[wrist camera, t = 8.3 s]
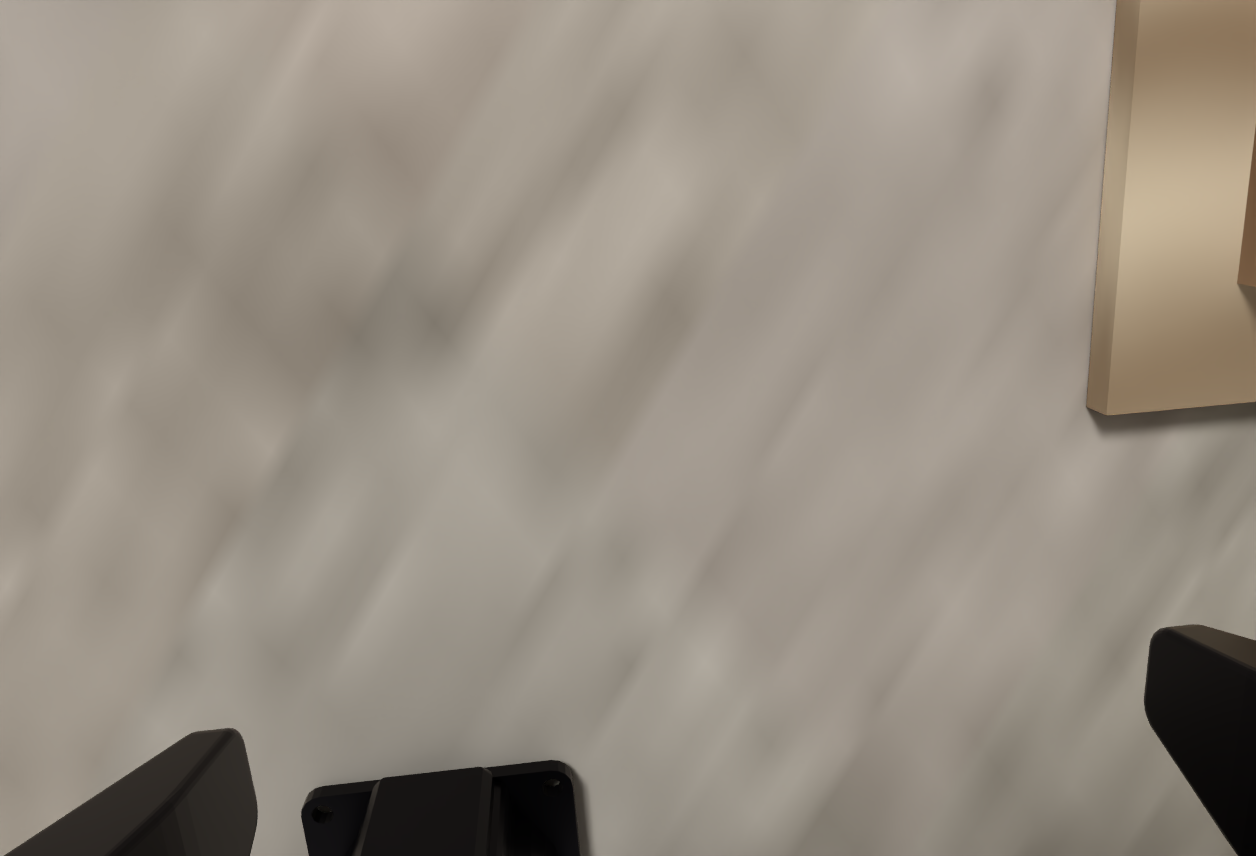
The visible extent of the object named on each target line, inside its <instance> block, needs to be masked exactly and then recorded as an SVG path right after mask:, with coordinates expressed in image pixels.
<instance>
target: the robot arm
mask: <svg viewBox="0 0 1256 856" xmlns="http://www.w3.org/2000/svg"><path fill="white" fill-rule="evenodd" d="M1144 706H1145V712H1146V715H1147V718H1148V721H1149V723H1150V725H1151V727H1152V729H1153V730H1154V732H1155V733H1156V735H1157V736H1158V738H1159V739H1160V741H1161V742H1162V744H1163V745H1164V747H1165V748H1166V750H1167V751H1168V753H1169V754H1170V756H1171V757H1172V759H1173V760H1174V762H1175V763H1176V765H1177V766H1178V768H1179V769H1180V771H1181V772H1182V774H1183V775H1184V777H1185V778H1186V780H1187V781H1188V783H1189V784H1190V786H1191V787H1192V789H1193V790H1194V792H1195V793H1196V795H1197V796H1198V798H1199V799H1200V801H1201V802H1202V804H1203V805H1204V807H1205V808H1206V810H1207V811H1208V813H1209V814H1210V816H1211V817H1212V819H1213V820H1214V822H1215V823H1216V825H1217V826H1218V828H1219V829H1220V831H1221V832H1222V834H1223V835H1224V837H1225V838H1226V839H1227V841H1228V842H1229V844H1230V845H1231V847H1232V848H1233V849H1234V851H1235V852H1236V854H1237V855H1238V856H1256V641H1255V640H1252V639H1248V638H1245V637H1241V636H1238V635H1234V634H1231V633H1228V632H1224V631H1221V630H1217V629H1214V628H1210V627H1207V626H1203V625H1183V626H1174V627H1166V628H1161V629H1159V630H1158V631H1156V632H1155V633H1154V634H1153V636H1152V638H1151V641H1150V646H1149V656H1148V665H1147V675H1146V684H1145V694H1144ZM550 779H556V780H558V781H560V783H559V784H558V785H556V786H547V785H546V784H544V783H545V781H547V780H550ZM318 806H327V807H329V808H330V809H331V810H332V811H331V812H328V813H327V812H322V811H320V810H318V809H317V807H318ZM257 813H258V810H257V800H256V795H255V790H254V786H253V781H252V776H251V772H250V767H249V762H248V757H247V753H246V748H245V744H244V740H243V738H242V736H241V734H240V733H239V732H238V731H237V730H235V729H233V728H225V729H216V730H207V731H197V732H194V733H191V734H189V735H187V736H186V737H184V738H183V739H181V740H179V741H178V742H176V743H175V744H173V745H172V746H170V747H169V748H167V749H166V750H164V751H163V752H161V753H160V754H158V755H157V756H155V757H154V758H152V759H151V760H149V761H147V762H146V763H144V764H143V765H141V766H140V767H138V768H137V769H135V770H134V771H132V772H131V773H129V774H128V775H126V776H125V777H123V778H122V779H120V780H119V781H117V782H116V783H114V784H112V785H111V786H109V787H108V788H106V789H105V790H103V791H102V792H100V793H99V794H97V795H96V796H94V797H93V798H91V799H90V800H88V801H87V802H85V803H84V804H82V805H80V806H79V807H77V808H76V809H74V810H73V811H71V812H70V813H68V814H67V815H65V816H64V817H62V818H61V819H59V820H58V821H56V822H55V823H53V824H52V825H50V826H49V827H47V828H45V829H44V830H42V831H41V832H39V833H38V834H36V835H35V836H33V837H32V838H30V839H29V840H27V841H26V842H24V843H23V844H21V845H20V846H18V847H17V848H15V849H13V850H12V851H10V852H9V853H7V854H6V855H4V856H250V853H251V848H252V844H253V840H254V836H255V831H256V826H257ZM301 818H302V823H303V828H304V833H305V838H306V843H307V848H308V853H309V856H580V847H579V837H578V827H577V817H576V807H575V797H574V787H573V777H572V773H571V770H570V768H569V767H568V766H567V765H566V764H565V763H562V762H560V761H554V760H548V761H540V762H531V763H522V764H513V765H505V766H496V767H487V768H482V767H474V768H465V769H457V770H448V771H439V772H430V773H422V774H413V775H404V776H395V777H386V778H383V779H381V780H373V781H364V782H356V783H347V784H338V785H329V786H322V787H319V788H315V789H314V790H313V791H311V792H310V793H309V794H308V796H307V798H306V800H305V803H304V805H303V808H302V812H301Z"/></svg>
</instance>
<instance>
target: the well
mask: <svg viewBox="0 0 1256 856" xmlns="http://www.w3.org/2000/svg"><path fill="white" fill-rule="evenodd" d="M1247 402H1256V0H1117V6H1116V19H1115V33H1114V46H1113V59H1112V72H1111V86H1110V99H1109V112H1108V126H1107V139H1106V152H1105V166H1104V179H1103V192H1102V206H1101V219H1100V232H1099V245H1098V259H1097V272H1096V285H1095V299H1094V312H1093V325H1092V339H1091V352H1090V365H1089V379H1088V392H1087V405H1086V407H1088V408H1091V409H1093V410H1095V411H1097V412H1100V413H1102V414H1104V415H1106V416H1108V415H1118V414H1129V413H1140V412H1151V411H1161V410H1172V409H1183V408H1193V407H1204V406H1215V405H1226V404H1236V403H1247Z"/></svg>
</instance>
